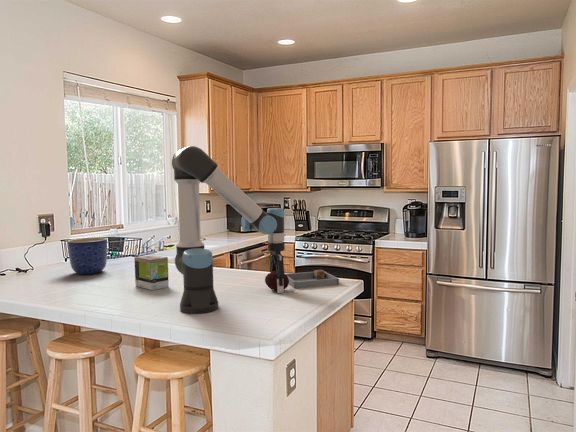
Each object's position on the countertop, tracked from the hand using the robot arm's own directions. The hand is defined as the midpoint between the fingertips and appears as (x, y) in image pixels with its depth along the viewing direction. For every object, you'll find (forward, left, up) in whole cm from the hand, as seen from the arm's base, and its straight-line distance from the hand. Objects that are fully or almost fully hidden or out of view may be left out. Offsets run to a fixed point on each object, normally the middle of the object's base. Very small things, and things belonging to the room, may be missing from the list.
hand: (277, 290), depth 215 cm
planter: (-89, +79, -1) cm, 119 cm away
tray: (+19, +9, 0) cm, 21 cm away
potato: (0, 0, -1) cm, 1 cm away
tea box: (-55, +30, -1) cm, 63 cm away
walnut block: (+26, +15, 0) cm, 30 cm away
